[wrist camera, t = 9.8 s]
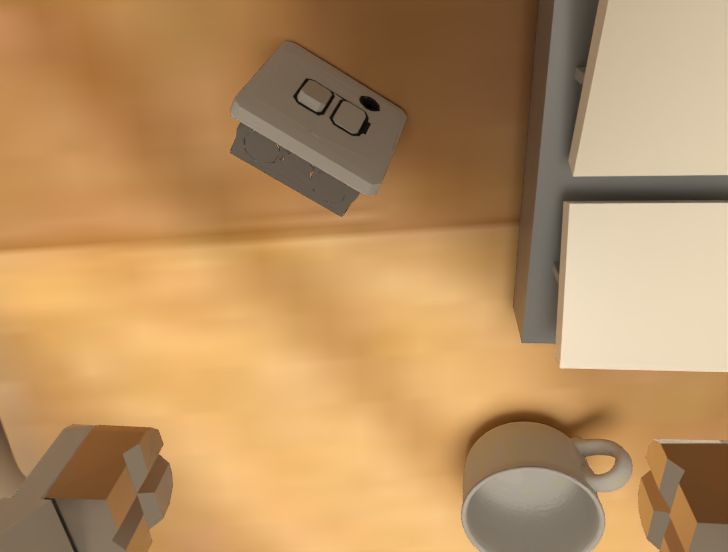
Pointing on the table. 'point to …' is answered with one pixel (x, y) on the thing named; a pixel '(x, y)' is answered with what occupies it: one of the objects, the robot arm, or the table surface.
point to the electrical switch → (315, 128)
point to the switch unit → (552, 170)
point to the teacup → (537, 489)
